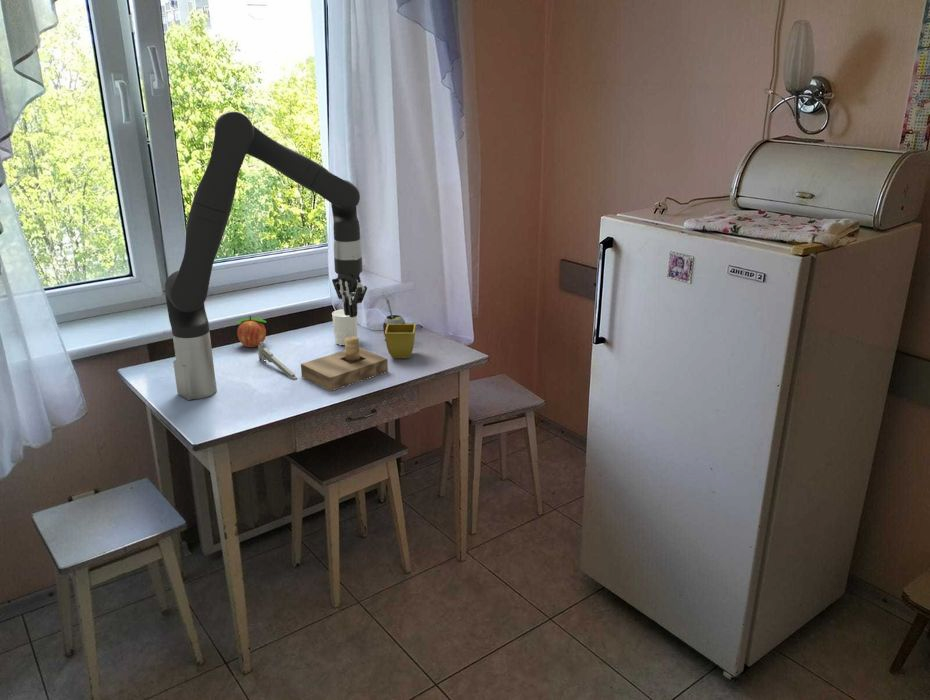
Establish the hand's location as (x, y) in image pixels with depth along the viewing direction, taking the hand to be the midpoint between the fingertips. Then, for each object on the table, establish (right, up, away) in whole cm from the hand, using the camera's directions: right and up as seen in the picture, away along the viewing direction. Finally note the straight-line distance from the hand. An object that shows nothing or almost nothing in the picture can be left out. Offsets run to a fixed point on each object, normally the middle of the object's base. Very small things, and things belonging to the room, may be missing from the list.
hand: (350, 315), depth 212 cm
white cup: (-6, -8, +29) cm, 30 cm away
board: (-2, -17, +4) cm, 17 cm away
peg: (0, -16, +6) cm, 17 cm away
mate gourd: (+9, -7, +31) cm, 33 cm away
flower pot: (+13, -12, +18) cm, 25 cm away
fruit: (-35, -9, +25) cm, 44 cm away
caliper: (-22, -16, +7) cm, 28 cm away
